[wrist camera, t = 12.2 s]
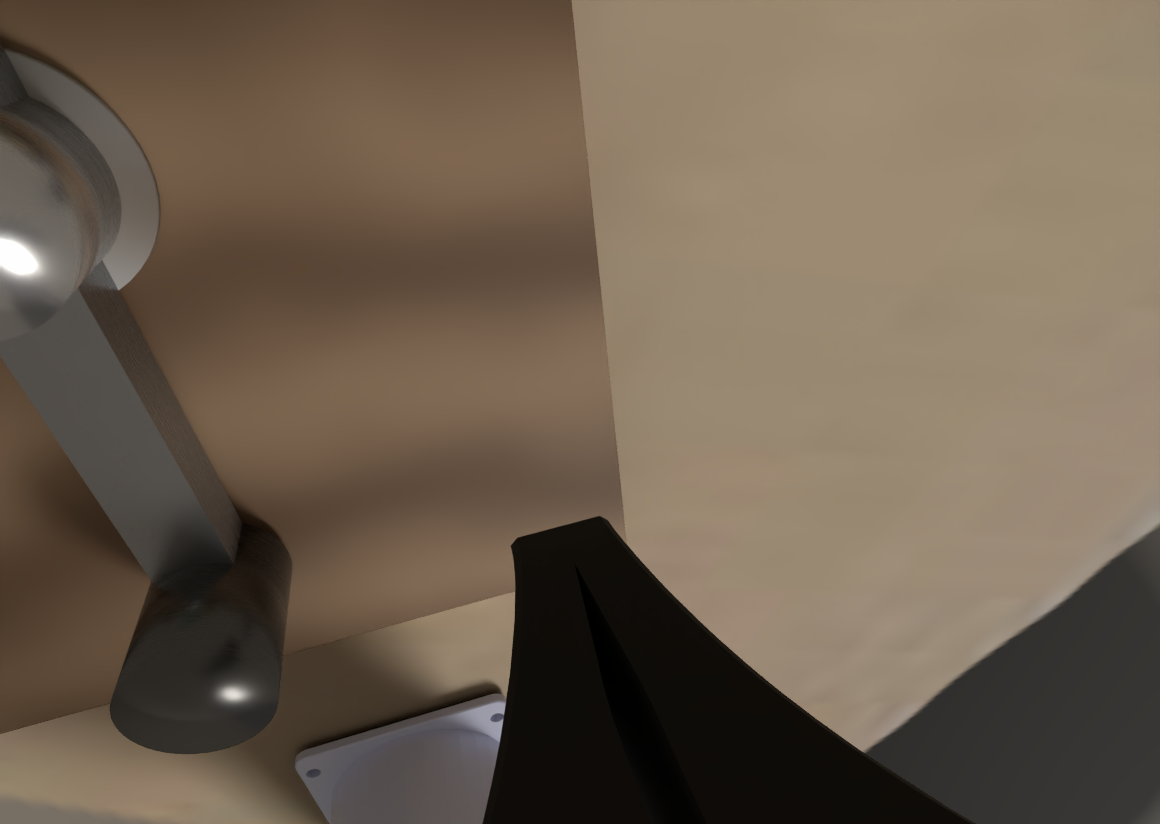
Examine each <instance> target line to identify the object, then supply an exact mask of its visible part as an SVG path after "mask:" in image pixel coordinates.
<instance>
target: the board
mask: <svg viewBox="0 0 1160 824" xmlns="http://www.w3.org/2000/svg"><path fill="white" fill-rule="evenodd" d="M0 42H1V44H2V46H3V48H4V49H5V51H6V53H7V55H8V57H9V59H10V61H11V63H12V65H13V67H14V69H15V71H16V72H17V74H18V76H19V78H20V80H21V82H22V84H23V86H24V88H25V90H26V92H27V94H28V95H29V96H30V97H32V98H34V99H36V100H38V101H40V102H42V103H44V104H46V105H47V106H49V107H51V108H52V109H54V110H56V111H57V112H59V113H60V114H62V115H63V116H64V117H66V118H67V119H68V120H70V121H71V122H72V123H73V124H74V125H76V126H77V127H78V128H79V129H80V130H81V131H82V132H83V133H84V134H85V135H86V136H87V137H88V138H89V139H90V140H91V141H92V143H93V144H94V145H95V146H96V147H97V149H98V150H99V151H100V153H101V154H102V156H103V157H104V158H105V160H106V162H107V164H108V166H109V167H110V169H111V171H112V173H113V176H114V178H115V181H116V183H117V186H118V190H119V194H120V199H121V207H122V213H121V224H120V229H119V233H118V236H117V238H116V241H115V243H114V244H113V246H112V248H111V249H110V251H109V252H108V253H107V255H106V256H105V257H104V258H103V259H102V260H103V262H104V264H105V266H106V267H107V269H108V271H109V273H110V275H111V277H112V279H113V281H114V282H115V284H116V286H117V288H118V290H119V292H120V294H121V296H122V297H123V299H124V301H125V303H126V305H127V307H128V309H129V311H130V313H131V314H132V316H133V318H134V320H135V322H136V324H137V326H138V328H139V329H140V331H141V333H142V335H143V337H144V339H145V341H146V343H147V344H148V346H149V348H150V350H151V352H152V354H153V356H154V358H155V360H156V361H157V363H158V365H159V367H160V369H161V371H162V373H163V375H164V376H165V378H166V380H167V382H168V384H169V386H170V388H171V390H172V391H173V393H174V395H175V397H176V399H177V401H178V403H179V405H180V407H181V408H182V410H183V412H184V414H185V416H186V418H187V420H188V422H189V423H190V425H191V427H192V429H193V431H194V433H195V435H196V437H197V439H198V440H199V442H200V444H201V446H202V448H203V450H204V452H205V454H206V455H207V457H208V459H209V461H210V463H211V465H212V467H213V469H214V470H215V472H216V474H217V476H218V478H219V480H220V482H221V484H222V486H223V487H224V489H225V491H226V493H227V495H228V497H229V499H230V501H231V502H232V504H233V506H234V508H235V510H236V512H237V514H238V516H239V517H240V519H241V521H242V523H243V524H248V525H252V526H255V527H258V528H260V529H263V530H265V531H267V532H269V533H270V534H272V535H273V536H275V537H276V538H277V539H278V540H280V541H281V542H282V543H283V545H284V546H285V547H286V549H287V550H288V552H289V554H290V556H291V560H292V578H291V587H290V597H289V606H288V615H287V624H286V633H285V642H284V651H283V655H286V654H290V653H294V652H297V651H301V650H305V649H308V648H312V647H315V646H319V645H323V644H326V643H330V642H333V641H337V640H341V639H344V638H348V637H351V636H355V635H359V634H362V633H366V632H369V631H373V630H377V629H380V628H384V627H388V626H391V625H395V624H398V623H402V622H406V621H409V620H413V619H416V618H420V617H424V616H427V615H431V614H434V613H438V612H442V611H445V610H449V609H452V608H456V607H460V606H463V605H467V604H470V603H474V602H478V601H481V600H485V599H489V598H492V597H496V596H499V595H503V594H507V593H510V592H514V591H515V571H514V560H513V554H512V550H511V545H512V543H513V542H514V541H515V540H516V539H517V538H518V537H522V536H525V535H529V534H533V533H537V532H540V531H544V530H548V529H552V528H555V527H559V526H563V525H567V524H571V523H574V522H578V521H582V520H586V519H589V518H593V517H597V516H601V517H603V518H605V519H607V520H608V521H609V522H610V524H611V525H612V527H613V528H614V529H615V531H616V532H617V533H618V534H619V536H620V537H621V538H622V539H623V541H624V542H625V543H626V533H625V523H624V514H623V504H622V494H621V484H620V474H619V464H618V455H617V445H616V435H615V425H614V415H613V405H612V395H611V386H610V376H609V366H608V356H607V346H606V336H605V327H604V317H603V307H602V297H601V287H600V277H599V268H598V258H597V248H596V238H595V228H594V218H593V208H592V199H591V189H590V179H589V169H588V159H587V149H586V140H585V130H584V120H583V110H582V100H581V90H580V81H579V71H578V61H577V51H576V41H575V31H574V22H573V12H572V2H571V0H0ZM626 544H627V543H626ZM150 583H151V580H150V578H149V577H148V575H147V574H146V572H145V571H144V569H143V568H142V566H141V565H140V563H139V562H138V560H137V559H136V557H135V556H134V555H133V553H132V552H131V550H130V549H129V547H128V546H127V544H126V543H125V541H124V540H123V538H122V537H121V535H120V534H119V532H118V531H117V529H116V528H115V526H114V525H113V523H112V522H111V520H110V519H109V517H108V516H107V514H106V513H105V511H104V510H103V508H102V507H101V505H100V504H99V502H98V501H97V499H96V498H95V497H94V495H93V494H92V492H91V491H90V489H89V488H88V486H87V485H86V483H85V482H84V480H83V479H82V477H81V476H80V474H79V473H78V471H77V470H76V468H75V467H74V465H73V464H72V462H71V461H70V459H69V458H68V456H67V455H66V453H65V452H64V450H63V449H62V447H61V446H60V444H59V443H58V442H57V440H56V439H55V437H54V436H53V434H52V433H51V431H50V430H49V428H48V427H47V425H46V424H45V422H44V421H43V419H42V418H41V416H40V415H39V413H38V412H37V410H36V409H35V407H34V406H33V404H32V403H31V401H30V400H29V398H28V397H27V395H26V394H25V392H24V391H23V389H22V388H21V387H20V385H19V384H18V382H17V381H16V379H15V378H14V376H13V375H12V373H11V372H10V370H9V369H8V367H7V366H6V364H5V363H4V361H3V360H2V358H1V357H0V734H1V733H5V732H9V731H12V730H16V729H19V728H23V727H27V726H30V725H34V724H38V723H41V722H45V721H48V720H52V719H56V718H59V717H63V716H66V715H70V714H74V713H77V712H81V711H84V710H88V709H92V708H95V707H99V706H102V705H106V704H110V703H111V699H112V696H113V693H114V690H115V687H116V684H117V681H118V678H119V675H120V672H121V669H122V666H123V663H124V660H125V657H126V654H127V651H128V648H129V645H130V642H131V639H132V636H133V633H134V630H135V627H136V624H137V621H138V618H139V615H140V612H141V609H142V606H143V603H144V601H145V598H146V595H147V592H148V589H149V586H150Z"/></svg>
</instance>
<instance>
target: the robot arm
mask: <svg viewBox="0 0 1160 824" xmlns="http://www.w3.org/2000/svg"><path fill="white" fill-rule="evenodd" d="M511 550H512V554H513V560H514V571H515V623H514V635H513V647H512V659H511V670H510V678H509V685H508V692H507V698H505V696H503V695H501V694H490V695H487V696H484V697H480V698H477V699H474V700H470V701H467V702H464V703H460V704H457V705H454V706H450V707H447V708H444V709H440V710H437V711H434V712H430V713H427V714H423V715H420V716H417V717H413V718H410V719H407V720H403V721H400V722H397V723H393V724H390V725H387V726H383V727H380V728H377V729H373V730H370V731H366V732H363V733H360V734H356V735H353V736H350V737H346V738H343V739H340V740H336V741H333V742H330V743H326V744H323V745H320V746H316V747H313V748H310V749H306V750H304V751H302V752H300V753H299V754H298V755H297V756H296V758H295V769H296V771H297V772H298V774H299V776H300V777H301V779H302V780H303V782H304V784H305V785H306V787H307V788H308V790H309V792H310V793H311V795H312V797H313V798H314V800H315V801H316V803H317V805H318V806H319V808H320V810H321V811H322V813H323V814H324V816H325V818H326V819H327V821H328V822H329V824H975V823H973V822H972V821H970V820H968V819H967V818H965V817H963V816H962V815H960V814H958V813H957V812H955V811H953V810H952V809H950V808H948V807H946V806H945V805H943V804H942V803H940V802H939V801H937V800H936V799H934V798H933V797H931V796H929V795H928V794H926V793H924V792H923V791H922V790H920V789H919V788H917V787H916V786H914V785H912V784H911V783H909V782H908V781H906V780H905V779H903V778H902V777H900V776H898V775H897V774H896V773H894V772H892V771H891V770H889V769H888V768H886V767H885V766H883V765H881V764H880V763H878V762H877V761H875V760H874V759H872V758H871V757H869V756H868V755H866V754H865V753H863V752H862V751H860V750H859V749H857V748H856V747H854V746H853V745H852V744H850V743H849V742H847V741H846V740H845V739H843V738H842V737H840V736H839V735H838V734H836V733H835V732H834V731H832V730H831V729H829V728H828V727H827V726H825V725H824V724H822V723H821V722H820V721H818V720H817V719H815V718H814V717H813V716H812V715H810V714H809V713H808V712H806V711H805V710H804V709H802V708H801V707H800V706H798V705H797V704H796V703H795V702H793V701H792V700H791V699H789V698H788V697H787V696H785V695H784V694H783V693H782V692H780V691H779V690H778V689H777V688H775V687H774V686H773V685H772V684H770V683H769V682H768V681H767V680H765V679H764V678H763V677H762V676H761V675H759V674H758V673H757V672H756V671H755V670H753V669H752V668H751V667H750V666H749V665H748V664H746V663H745V662H744V661H743V660H742V659H741V658H740V657H738V656H737V655H736V654H735V653H734V652H733V651H732V650H730V649H729V648H728V647H727V646H726V645H725V644H724V643H722V642H721V641H720V640H719V639H718V638H717V637H716V636H715V635H714V634H713V633H711V632H710V631H709V630H708V629H707V628H706V627H705V626H704V625H703V624H702V623H701V622H700V621H699V620H698V619H697V618H696V617H695V616H694V615H693V614H692V613H691V612H690V611H689V610H688V609H686V608H685V607H684V606H683V605H682V604H681V603H680V602H679V601H678V600H677V599H676V598H675V597H674V596H673V595H672V594H671V593H670V592H669V591H668V590H667V589H666V588H665V587H664V585H663V584H662V583H661V582H660V581H659V580H658V579H657V578H656V577H655V576H654V575H653V574H652V573H651V572H650V570H649V569H648V568H647V567H646V566H645V565H644V564H643V563H642V562H641V561H640V559H639V558H638V557H637V556H636V555H635V554H634V553H633V551H632V550H631V549H630V548H629V547H628V545H627V544H626V543H625V542H624V541H623V539H622V538H621V537H620V536H619V534H618V533H617V532H616V531H615V529H614V528H613V527H612V525H611V524H610V522H609V521H608V520H607V519H605V518H603V517H601V516H597V517H593V518H589V519H586V520H582V521H578V522H574V523H571V524H567V525H563V526H559V527H555V528H552V529H548V530H544V531H540V532H537V533H533V534H529V535H525V536H522V537H518V538H517V539H516V540H515V541H514V542H513V543H512V545H511Z"/></svg>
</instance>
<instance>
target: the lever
mask: <svg viewBox="0 0 1160 824" xmlns="http://www.w3.org/2000/svg"><path fill="white" fill-rule="evenodd" d="M121 213H122V207H121V199H120V194H119V190H118V186H117V183H116V181H115V178H114V176H113V173H112V171H111V169H110V167H109V166H108V164H107V162H106V160H105V158H104V157H103V156H102V154H101V153H100V151H99V150H98V149H97V147H96V146H95V145H94V144H93V143H92V141H91V140H90V139H89V138H88V137H87V136H86V135H85V134H84V133H83V132H82V131H81V130H80V129H79V128H78V127H77V126H76V125H74V124H73V123H72V122H71V121H70V120H68V119H67V118H66V117H64V116H63V115H62V114H60V113H59V112H57V111H56V110H54V109H52V108H51V107H49V106H47V105H46V104H44V103H42V102H40V101H38V100H36V99H34V98H32V97H30V96H29V95H28V94H27V92H26V90H25V88H24V86H23V84H22V82H21V80H20V78H19V76H18V74H17V72H16V71H15V69H14V67H13V65H12V63H11V61H10V59H9V57H8V55H7V53H6V51H5V49H4V48H3V46H2V44H1V42H0V357H1V358H2V360H3V361H4V363H5V364H6V366H7V367H8V369H9V370H10V372H11V373H12V375H13V376H14V378H15V379H16V381H17V382H18V384H19V385H20V387H21V388H22V389H23V391H24V392H25V394H26V395H27V397H28V398H29V400H30V401H31V403H32V404H33V406H34V407H35V409H36V410H37V412H38V413H39V415H40V416H41V418H42V419H43V421H44V422H45V424H46V425H47V427H48V428H49V430H50V431H51V433H52V434H53V436H54V437H55V439H56V440H57V442H58V443H59V444H60V446H61V447H62V449H63V450H64V452H65V453H66V455H67V456H68V458H69V459H70V461H71V462H72V464H73V465H74V467H75V468H76V470H77V471H78V473H79V474H80V476H81V477H82V479H83V480H84V482H85V483H86V485H87V486H88V488H89V489H90V491H91V492H92V494H93V495H94V497H95V498H96V499H97V501H98V502H99V504H100V505H101V507H102V508H103V510H104V511H105V513H106V514H107V516H108V517H109V519H110V520H111V522H112V523H113V525H114V526H115V528H116V529H117V531H118V532H119V534H120V535H121V537H122V538H123V540H124V541H125V543H126V544H127V546H128V547H129V549H130V550H131V552H132V553H133V555H134V556H135V557H136V559H137V560H138V562H139V563H140V565H141V566H142V568H143V569H144V571H145V572H146V574H147V575H148V577H149V578H150V580H151V583H150V586H149V589H148V592H147V595H146V598H145V601H144V603H143V606H142V609H141V612H140V615H139V618H138V621H137V624H136V627H135V630H134V633H133V636H132V639H131V642H130V645H129V648H128V651H127V654H126V657H125V660H124V663H123V666H122V669H121V672H120V675H119V678H118V681H117V684H116V687H115V690H114V693H113V696H112V699H111V703H110V715H111V719H112V721H113V723H114V725H115V726H116V728H117V729H118V730H119V731H120V732H121V733H122V734H123V735H124V736H125V737H127V738H128V739H129V740H131V741H133V742H135V743H137V744H139V745H141V746H144V747H146V748H149V749H153V750H156V751H161V752H166V753H175V754H198V753H207V752H213V751H218V750H222V749H226V748H229V747H232V746H235V745H237V744H240V743H242V742H244V741H246V740H248V739H250V738H251V737H253V736H255V735H256V734H257V733H259V732H260V731H261V730H262V729H263V728H265V727H266V726H267V724H268V723H269V722H270V721H271V719H272V718H273V716H274V714H275V712H276V709H277V704H278V697H279V687H280V678H281V669H282V660H283V651H284V642H285V633H286V624H287V615H288V606H289V597H290V587H291V578H292V560H291V556H290V554H289V552H288V550H287V549H286V547H285V546H284V545H283V543H282V542H281V541H280V540H278V539H277V538H276V537H275V536H273V535H272V534H270V533H269V532H267V531H265V530H263V529H260V528H258V527H255V526H252V525H248V524H243V523H242V521H241V519H240V517H239V516H238V514H237V512H236V510H235V508H234V506H233V504H232V502H231V501H230V499H229V497H228V495H227V493H226V491H225V489H224V487H223V486H222V484H221V482H220V480H219V478H218V476H217V474H216V472H215V470H214V469H213V467H212V465H211V463H210V461H209V459H208V457H207V455H206V454H205V452H204V450H203V448H202V446H201V444H200V442H199V440H198V439H197V437H196V435H195V433H194V431H193V429H192V427H191V425H190V423H189V422H188V420H187V418H186V416H185V414H184V412H183V410H182V408H181V407H180V405H179V403H178V401H177V399H176V397H175V395H174V393H173V391H172V390H171V388H170V386H169V384H168V382H167V380H166V378H165V376H164V375H163V373H162V371H161V369H160V367H159V365H158V363H157V361H156V360H155V358H154V356H153V354H152V352H151V350H150V348H149V346H148V344H147V343H146V341H145V339H144V337H143V335H142V333H141V331H140V329H139V328H138V326H137V324H136V322H135V320H134V318H133V316H132V314H131V313H130V311H129V309H128V307H127V305H126V303H125V301H124V299H123V297H122V296H121V294H120V292H119V290H118V288H117V286H116V284H115V282H114V281H113V279H112V277H111V275H110V273H109V271H108V269H107V267H106V266H105V264H104V262H103V260H102V259H103V258H104V257H105V256H106V255H107V253H108V252H109V251H110V249H111V248H112V246H113V244H114V243H115V241H116V238H117V236H118V233H119V229H120V224H121Z"/></svg>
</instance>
